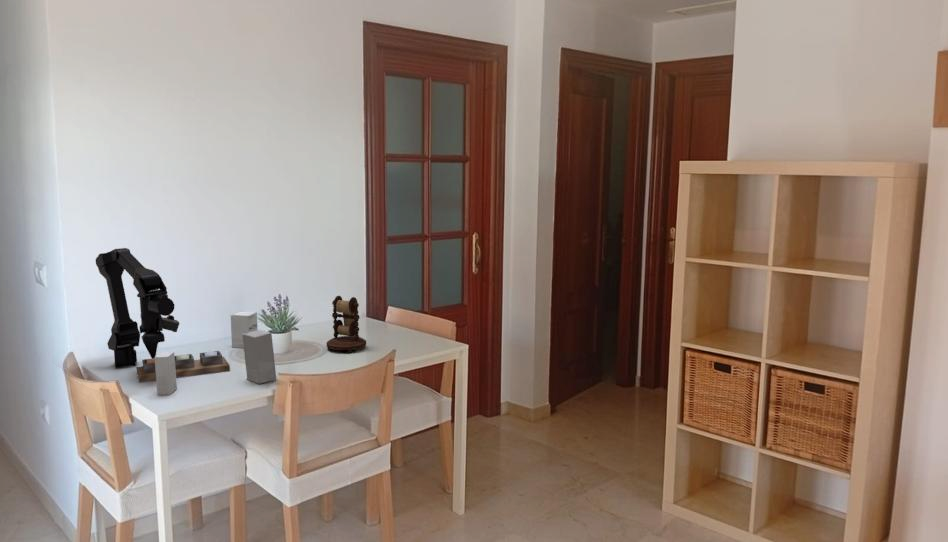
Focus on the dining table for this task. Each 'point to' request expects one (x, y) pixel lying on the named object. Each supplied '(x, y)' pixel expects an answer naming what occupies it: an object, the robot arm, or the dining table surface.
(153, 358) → the terracotta button
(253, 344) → the skincare box
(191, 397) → the dining table surface
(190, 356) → the button panel
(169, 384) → the skincare box
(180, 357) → the sage button
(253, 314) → the supplement box
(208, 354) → the slate button
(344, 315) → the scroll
